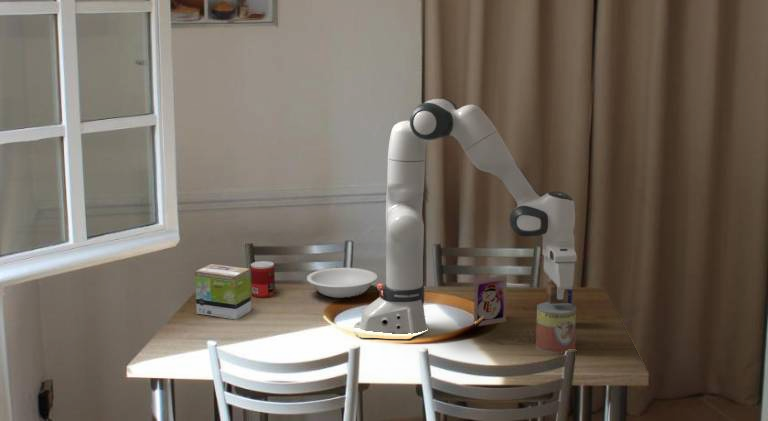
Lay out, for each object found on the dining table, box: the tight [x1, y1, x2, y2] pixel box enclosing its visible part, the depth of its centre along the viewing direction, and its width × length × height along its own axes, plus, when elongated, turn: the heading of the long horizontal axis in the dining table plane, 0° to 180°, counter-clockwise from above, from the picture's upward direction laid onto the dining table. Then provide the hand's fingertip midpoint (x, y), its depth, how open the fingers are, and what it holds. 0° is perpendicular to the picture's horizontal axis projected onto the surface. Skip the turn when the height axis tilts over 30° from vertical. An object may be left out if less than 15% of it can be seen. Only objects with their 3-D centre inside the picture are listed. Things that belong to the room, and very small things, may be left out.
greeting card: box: [473, 271, 508, 327], centre depth 321 cm, size 11×7×15 cm, turn 115°
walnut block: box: [545, 281, 568, 304], centre depth 296 cm, size 5×5×5 cm
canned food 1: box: [250, 260, 276, 299], centre depth 350 cm, size 8×8×11 cm
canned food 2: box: [535, 301, 577, 354], centre depth 298 cm, size 11×11×12 cm
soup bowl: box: [306, 267, 378, 299], centre depth 350 cm, size 24×24×7 cm
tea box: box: [194, 263, 252, 321], centre depth 331 cm, size 15×10×15 cm, turn 68°
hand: (556, 295), depth 296 cm, fingers closed on walnut block, 5 cm apart
